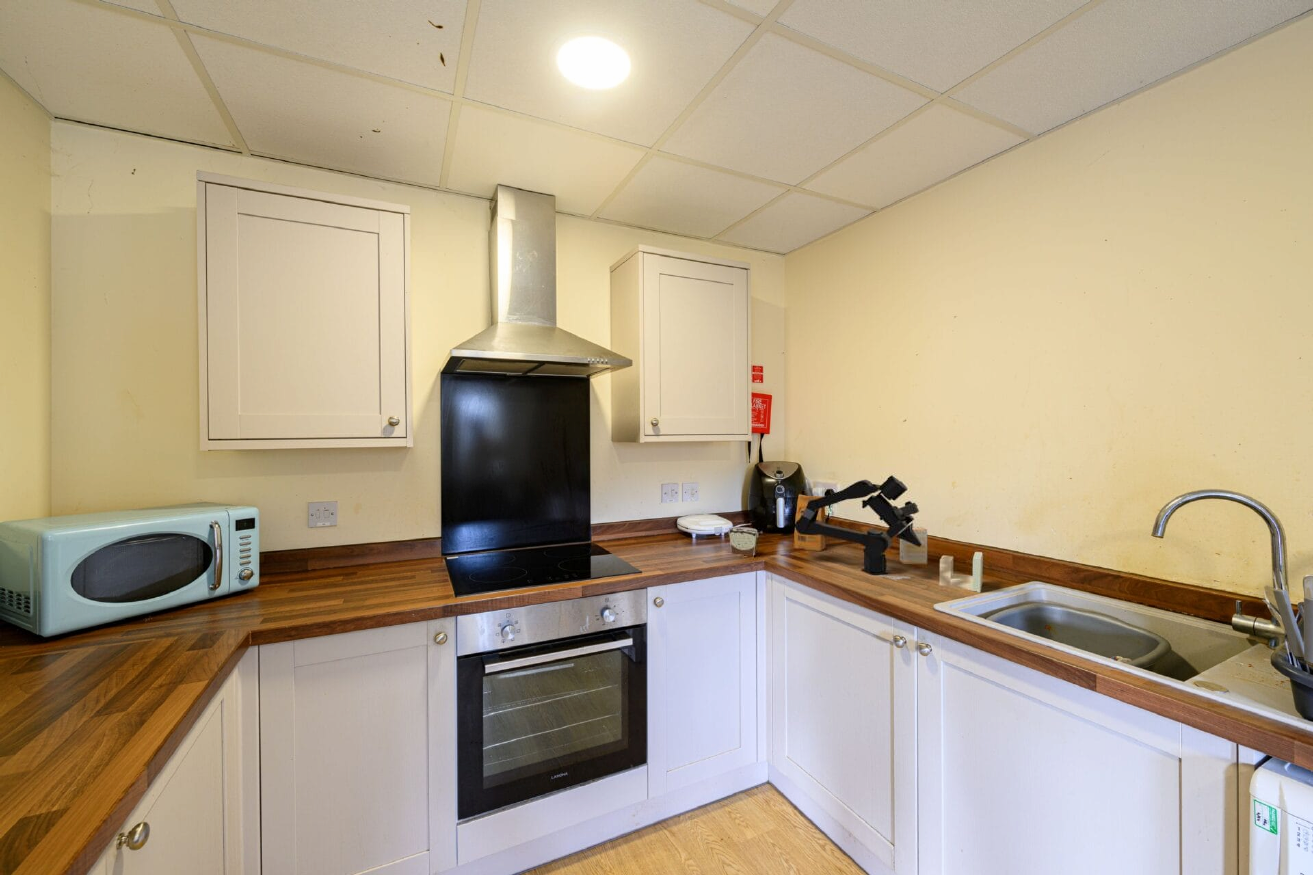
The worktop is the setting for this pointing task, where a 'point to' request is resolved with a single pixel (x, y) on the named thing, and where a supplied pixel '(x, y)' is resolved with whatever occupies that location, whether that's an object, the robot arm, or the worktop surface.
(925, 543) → the supplement box
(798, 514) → the coffee package
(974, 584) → the board
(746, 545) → the food container
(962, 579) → the stepped block
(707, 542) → the worktop surface
